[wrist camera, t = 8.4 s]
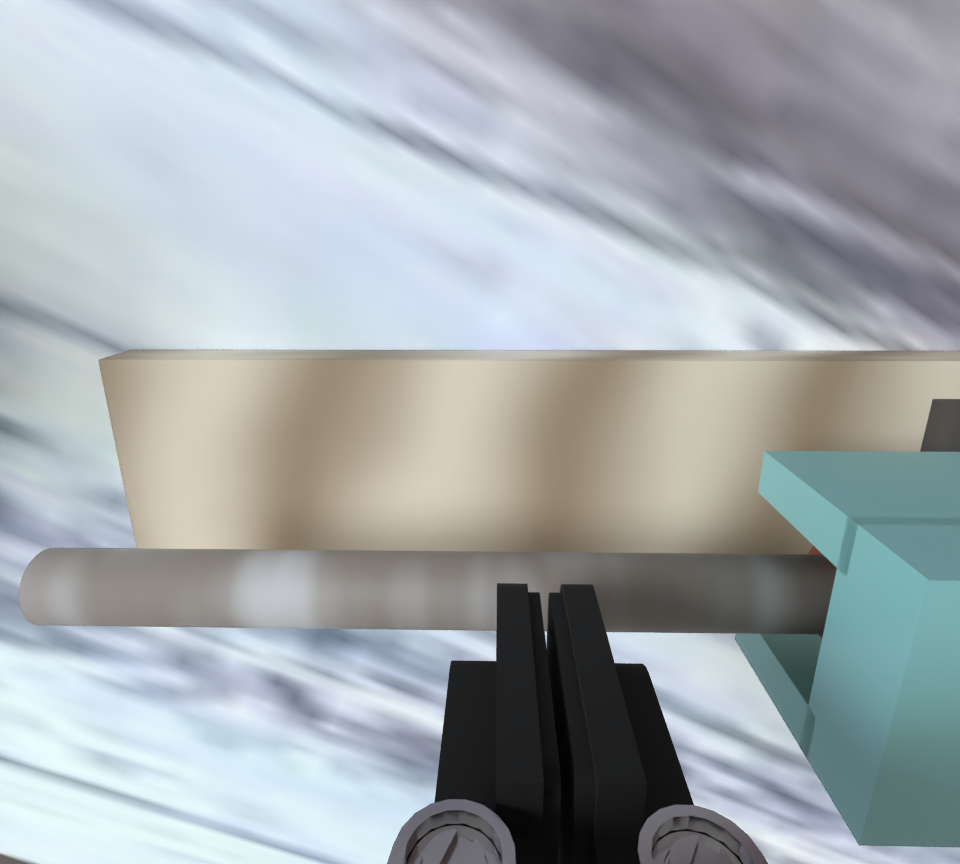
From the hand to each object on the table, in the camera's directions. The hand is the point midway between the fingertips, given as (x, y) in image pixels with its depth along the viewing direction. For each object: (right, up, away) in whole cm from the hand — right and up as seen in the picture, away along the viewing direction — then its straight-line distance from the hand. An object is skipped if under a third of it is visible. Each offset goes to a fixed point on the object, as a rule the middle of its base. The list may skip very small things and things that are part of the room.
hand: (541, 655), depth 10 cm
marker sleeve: (+8, +1, +4) cm, 9 cm away
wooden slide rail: (+2, +2, +8) cm, 8 cm away
